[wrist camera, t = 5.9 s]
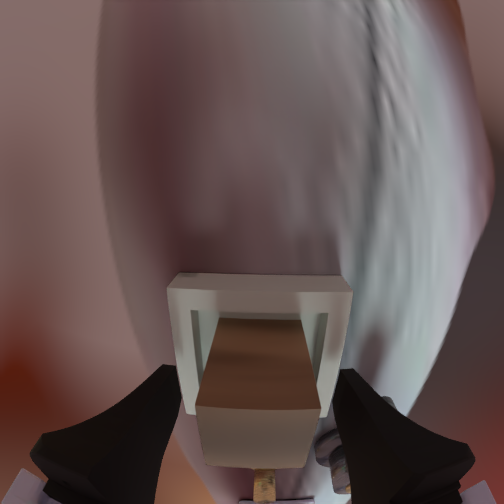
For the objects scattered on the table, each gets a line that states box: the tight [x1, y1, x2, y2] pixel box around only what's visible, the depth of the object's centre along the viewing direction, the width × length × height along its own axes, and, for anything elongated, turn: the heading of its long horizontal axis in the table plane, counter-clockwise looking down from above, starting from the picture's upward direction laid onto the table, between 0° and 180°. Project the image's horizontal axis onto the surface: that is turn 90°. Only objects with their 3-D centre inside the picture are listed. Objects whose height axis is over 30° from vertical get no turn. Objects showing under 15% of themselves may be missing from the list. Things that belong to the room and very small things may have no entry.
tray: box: [167, 272, 353, 418], centre depth 14 cm, size 8×8×2 cm
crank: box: [328, 396, 397, 494], centre depth 14 cm, size 9×3×3 cm, turn 179°
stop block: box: [195, 317, 322, 469], centre depth 11 cm, size 4×4×6 cm
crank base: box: [251, 428, 343, 504], centre depth 15 cm, size 6×10×4 cm, turn 89°
